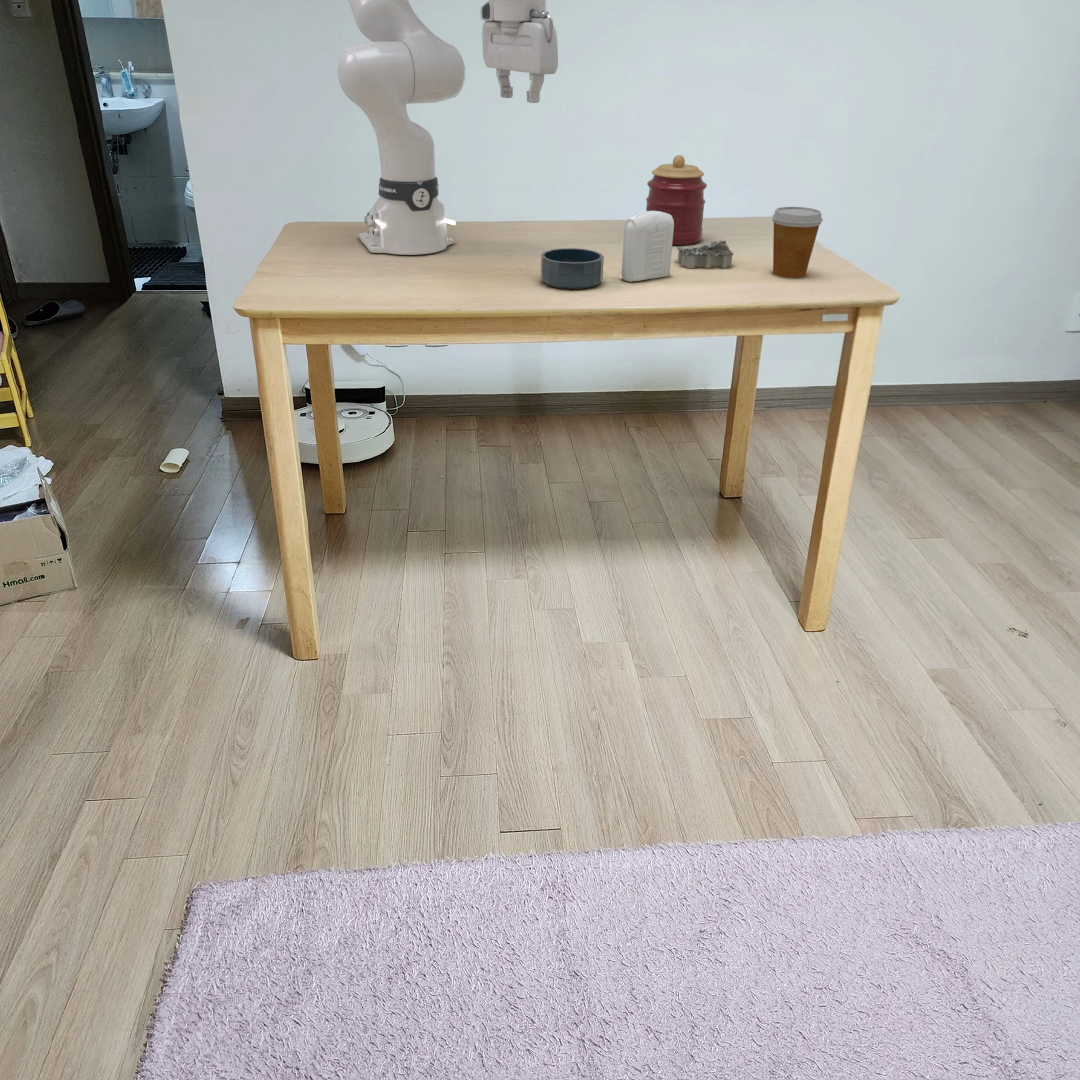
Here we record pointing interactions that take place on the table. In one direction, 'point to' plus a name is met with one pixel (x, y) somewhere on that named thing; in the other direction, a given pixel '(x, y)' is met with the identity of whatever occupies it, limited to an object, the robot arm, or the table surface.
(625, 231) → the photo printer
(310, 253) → the table surface
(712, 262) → the grey packaging insert
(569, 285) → the bowl
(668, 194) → the kitchen canister
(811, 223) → the disposable coffee cup
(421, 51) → the robot arm
